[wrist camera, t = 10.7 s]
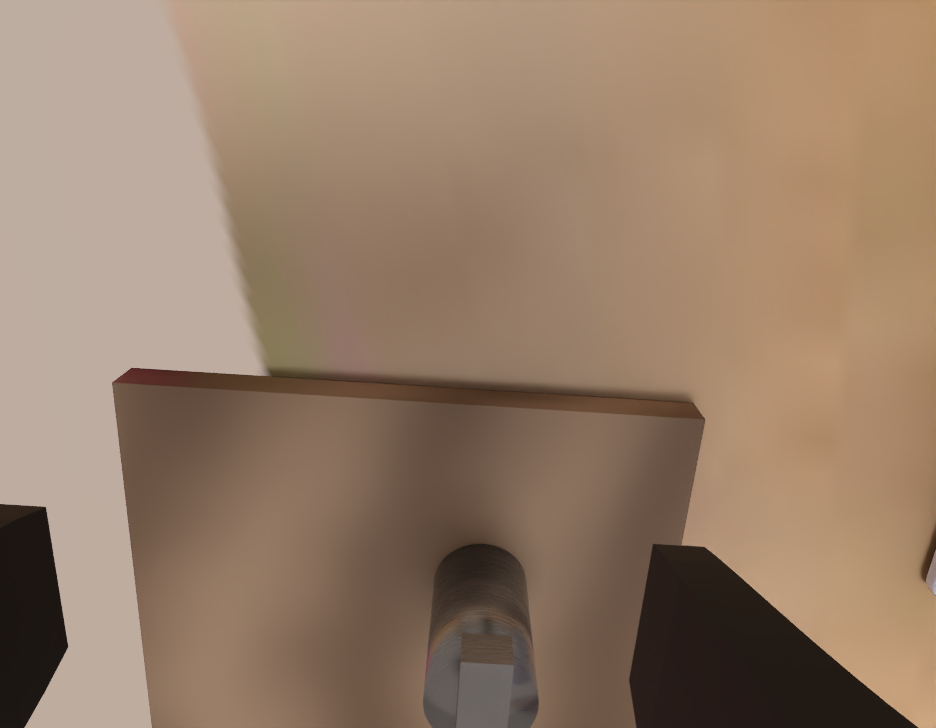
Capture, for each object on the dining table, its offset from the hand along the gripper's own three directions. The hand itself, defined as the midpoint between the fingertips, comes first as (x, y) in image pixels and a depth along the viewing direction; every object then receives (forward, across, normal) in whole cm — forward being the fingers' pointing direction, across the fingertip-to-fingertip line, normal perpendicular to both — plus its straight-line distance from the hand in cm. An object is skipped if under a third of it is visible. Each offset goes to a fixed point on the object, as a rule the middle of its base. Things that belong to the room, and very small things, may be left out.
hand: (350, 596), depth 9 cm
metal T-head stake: (+8, -2, +6) cm, 11 cm away
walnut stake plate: (+9, 0, +7) cm, 12 cm away
